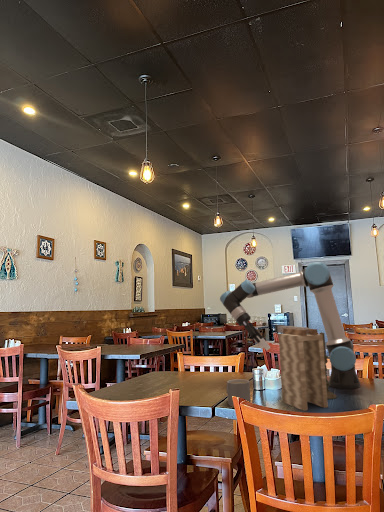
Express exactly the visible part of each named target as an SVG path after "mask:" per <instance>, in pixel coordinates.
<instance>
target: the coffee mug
mask: <svg viewBox="0 0 384 512" xmlns="http://www.w3.org/2000/svg"><path fill="white" fill-rule="evenodd" d="M226 393H227V405H228V404H229V405H230V406H229V405H228V406H229V407H231V406H233V401H232V396H236V397H240V398H243V399H245V400H247V401H249V402H251V401H252V400H251V386H250V380H248V379H244V378H243V379H242V378H241V379H240V378H239V379H238V378H237V379H235V378H234V379H229V380H227V382H226Z"/></svg>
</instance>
